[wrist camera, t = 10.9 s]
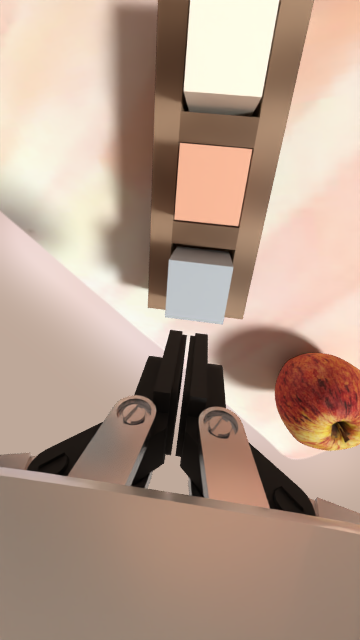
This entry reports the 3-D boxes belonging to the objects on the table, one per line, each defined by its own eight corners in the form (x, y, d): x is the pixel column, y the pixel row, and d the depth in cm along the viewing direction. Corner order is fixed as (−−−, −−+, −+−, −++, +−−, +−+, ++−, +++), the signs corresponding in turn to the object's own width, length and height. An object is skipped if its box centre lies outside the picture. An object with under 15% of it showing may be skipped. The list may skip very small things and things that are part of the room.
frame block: (169, 19, 19) (158, -28, 15) (295, 27, 18) (319, -20, 14) (156, 290, 28) (147, 307, 24) (238, 300, 28) (243, 319, 24)
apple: (327, 321, 28) (382, 382, 19) (359, 377, 30) (422, 453, 21) (252, 358, 31) (269, 427, 22) (288, 406, 33) (316, 484, 25)
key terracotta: (186, 153, 20) (180, 142, 16) (243, 158, 20) (252, 149, 16) (181, 214, 22) (174, 219, 18) (232, 219, 22) (238, 226, 18)
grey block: (177, 246, 22) (168, 259, 18) (228, 251, 22) (233, 267, 18) (173, 294, 24) (164, 317, 20) (220, 299, 24) (222, 324, 20)
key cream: (196, 30, 17) (192, -26, 13) (264, 35, 17) (283, -21, 13) (189, 114, 19) (183, 91, 15) (249, 119, 19) (261, 97, 15)
